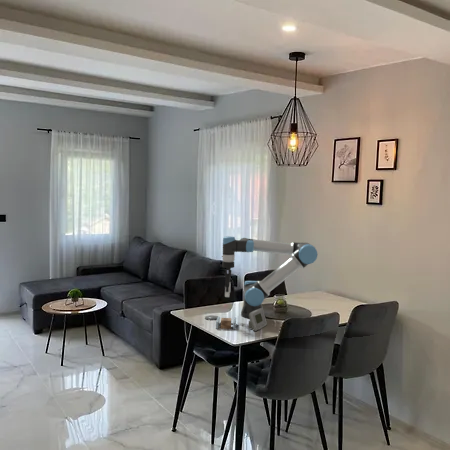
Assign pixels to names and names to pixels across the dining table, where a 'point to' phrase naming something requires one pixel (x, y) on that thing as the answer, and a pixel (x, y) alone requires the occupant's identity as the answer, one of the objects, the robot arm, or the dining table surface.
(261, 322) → the digital clock
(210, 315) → the coaster
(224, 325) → the block
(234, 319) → the channel
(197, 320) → the dining table surface
